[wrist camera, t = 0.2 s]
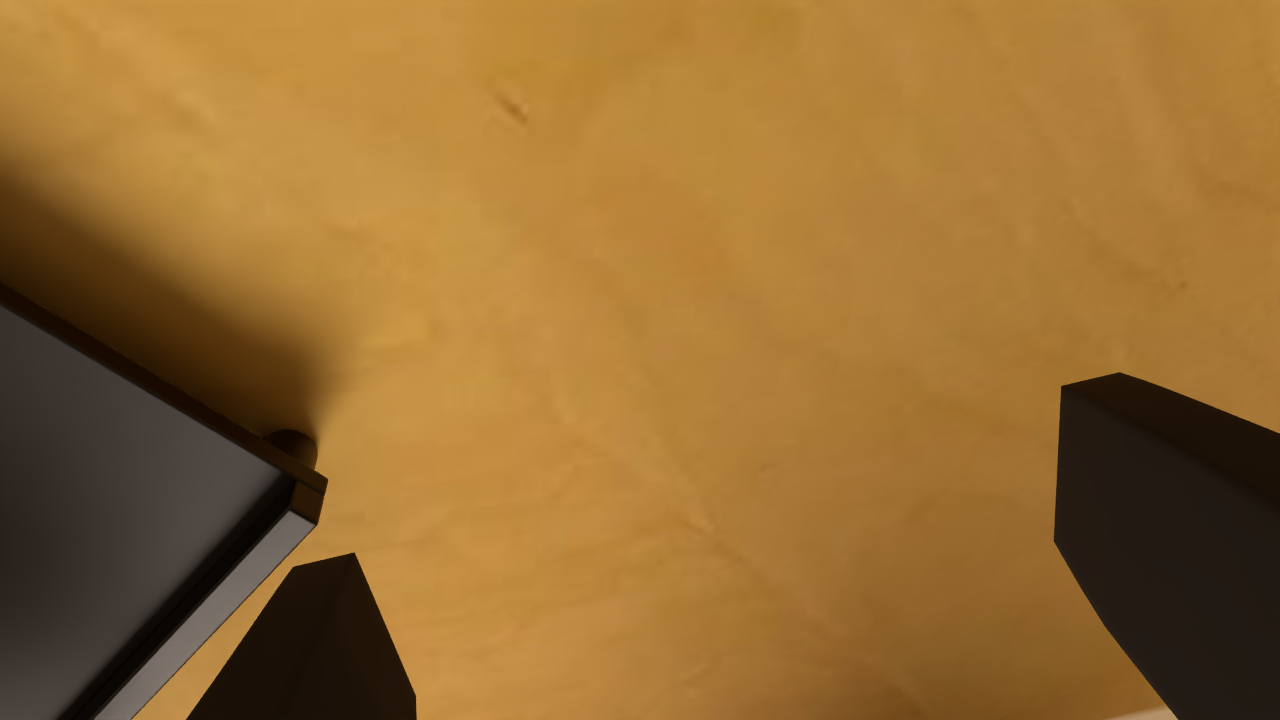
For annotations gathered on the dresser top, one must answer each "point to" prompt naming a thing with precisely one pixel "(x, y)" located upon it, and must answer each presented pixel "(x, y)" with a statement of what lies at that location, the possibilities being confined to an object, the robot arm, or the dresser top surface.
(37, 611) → the tray
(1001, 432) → the dresser top surface
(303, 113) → the dresser top surface
